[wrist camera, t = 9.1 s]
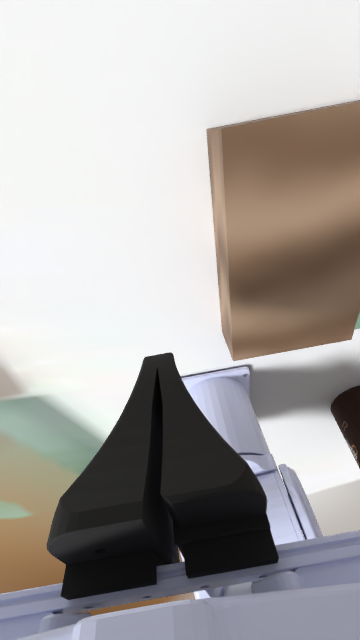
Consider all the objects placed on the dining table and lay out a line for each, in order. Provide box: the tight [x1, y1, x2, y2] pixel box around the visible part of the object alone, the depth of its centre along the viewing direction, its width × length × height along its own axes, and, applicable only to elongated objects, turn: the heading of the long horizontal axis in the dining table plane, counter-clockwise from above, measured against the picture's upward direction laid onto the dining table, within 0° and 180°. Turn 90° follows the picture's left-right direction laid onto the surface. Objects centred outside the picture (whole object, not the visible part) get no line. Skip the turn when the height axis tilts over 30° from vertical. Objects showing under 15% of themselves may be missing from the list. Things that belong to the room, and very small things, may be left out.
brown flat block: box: [207, 100, 360, 361], centre depth 19 cm, size 16×10×4 cm, turn 9°
